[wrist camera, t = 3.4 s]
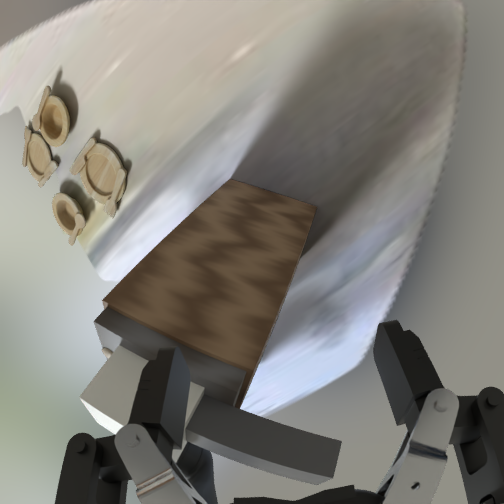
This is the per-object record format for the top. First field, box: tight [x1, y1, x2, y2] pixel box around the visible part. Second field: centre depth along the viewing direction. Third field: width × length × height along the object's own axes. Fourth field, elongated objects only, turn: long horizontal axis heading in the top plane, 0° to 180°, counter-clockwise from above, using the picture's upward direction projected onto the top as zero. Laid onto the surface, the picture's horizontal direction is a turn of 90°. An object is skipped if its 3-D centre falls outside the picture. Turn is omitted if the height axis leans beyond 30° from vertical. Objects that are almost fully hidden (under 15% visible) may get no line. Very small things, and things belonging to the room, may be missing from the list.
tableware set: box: [22, 86, 127, 245], centre depth 56 cm, size 35×29×4 cm
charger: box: [80, 345, 342, 485], centre depth 21 cm, size 20×6×6 cm, turn 79°
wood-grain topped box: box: [94, 179, 317, 409], centre depth 36 cm, size 14×10×31 cm
